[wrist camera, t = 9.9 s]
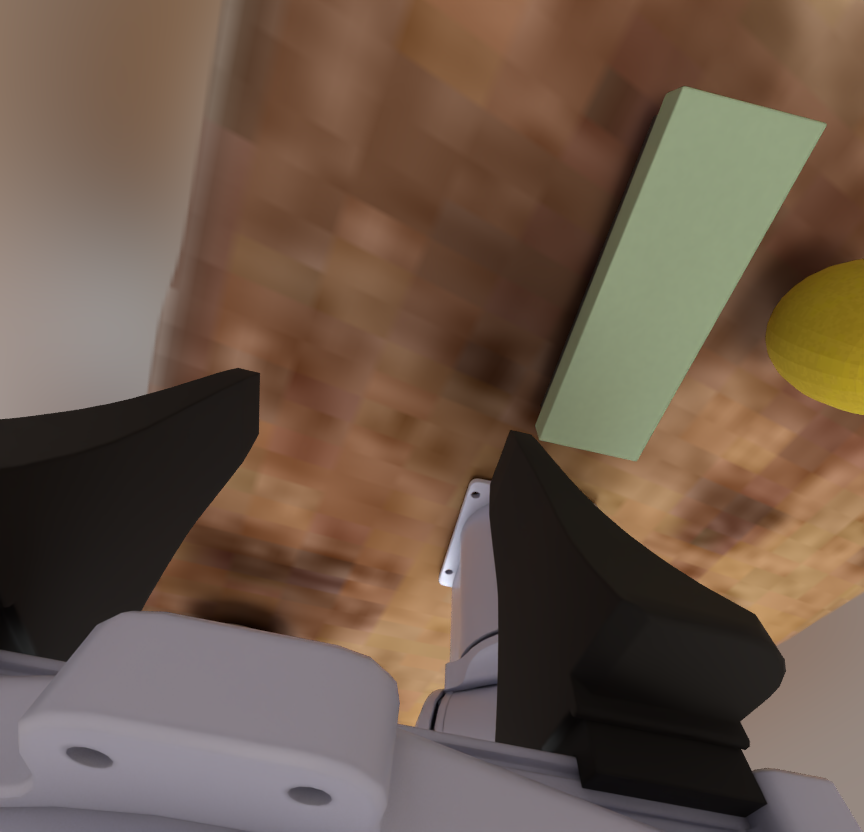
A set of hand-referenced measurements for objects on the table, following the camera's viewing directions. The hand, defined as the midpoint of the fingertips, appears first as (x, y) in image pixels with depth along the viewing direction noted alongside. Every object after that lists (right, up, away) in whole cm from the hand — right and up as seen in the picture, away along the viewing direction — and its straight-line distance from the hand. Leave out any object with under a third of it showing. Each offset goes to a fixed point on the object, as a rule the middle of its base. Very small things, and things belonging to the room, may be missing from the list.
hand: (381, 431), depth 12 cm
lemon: (+18, +6, +8) cm, 20 cm away
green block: (+11, +6, +8) cm, 15 cm away
